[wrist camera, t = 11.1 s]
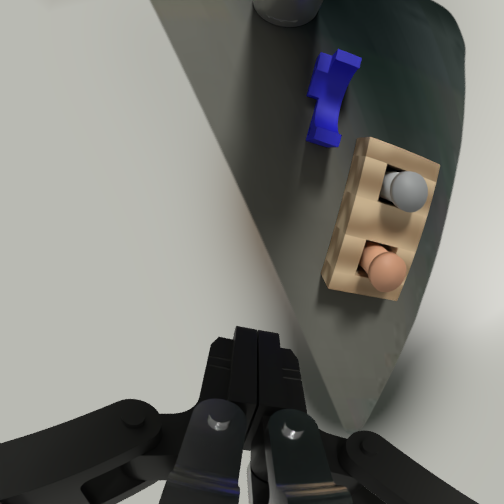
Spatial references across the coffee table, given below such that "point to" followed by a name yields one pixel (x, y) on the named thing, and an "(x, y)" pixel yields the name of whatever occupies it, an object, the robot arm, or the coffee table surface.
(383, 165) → the oak board
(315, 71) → the cable clip
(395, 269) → the terracotta plunger
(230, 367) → the robot arm
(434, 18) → the coffee table surface
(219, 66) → the coffee table surface
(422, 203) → the grey plunger
